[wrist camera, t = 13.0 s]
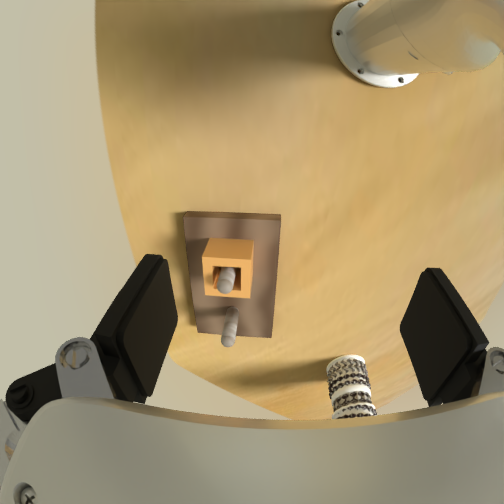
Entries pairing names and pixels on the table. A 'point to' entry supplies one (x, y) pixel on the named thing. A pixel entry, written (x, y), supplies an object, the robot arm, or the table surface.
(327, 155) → the table surface
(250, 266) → the collar
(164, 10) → the table surface
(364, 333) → the table surface
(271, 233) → the post board
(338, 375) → the decorative candle
